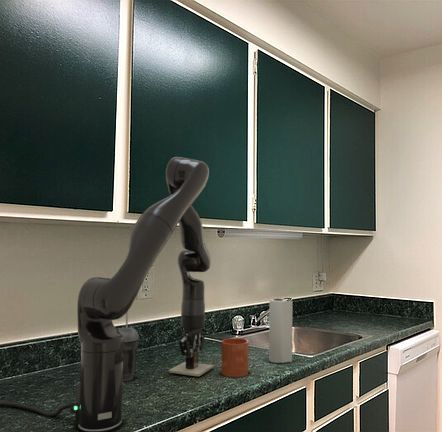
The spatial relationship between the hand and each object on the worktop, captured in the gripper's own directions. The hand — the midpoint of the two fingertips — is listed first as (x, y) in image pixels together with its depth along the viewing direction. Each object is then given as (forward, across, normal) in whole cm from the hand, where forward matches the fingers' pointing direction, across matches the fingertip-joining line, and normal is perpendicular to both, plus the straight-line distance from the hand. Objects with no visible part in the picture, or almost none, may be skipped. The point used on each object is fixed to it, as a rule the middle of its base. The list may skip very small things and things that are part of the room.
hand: (191, 366), depth 144 cm
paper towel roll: (+2, -22, +22) cm, 31 cm away
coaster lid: (+1, 0, 0) cm, 1 cm away
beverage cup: (+2, +14, -15) cm, 20 cm away
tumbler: (+2, -4, +13) cm, 14 cm away
